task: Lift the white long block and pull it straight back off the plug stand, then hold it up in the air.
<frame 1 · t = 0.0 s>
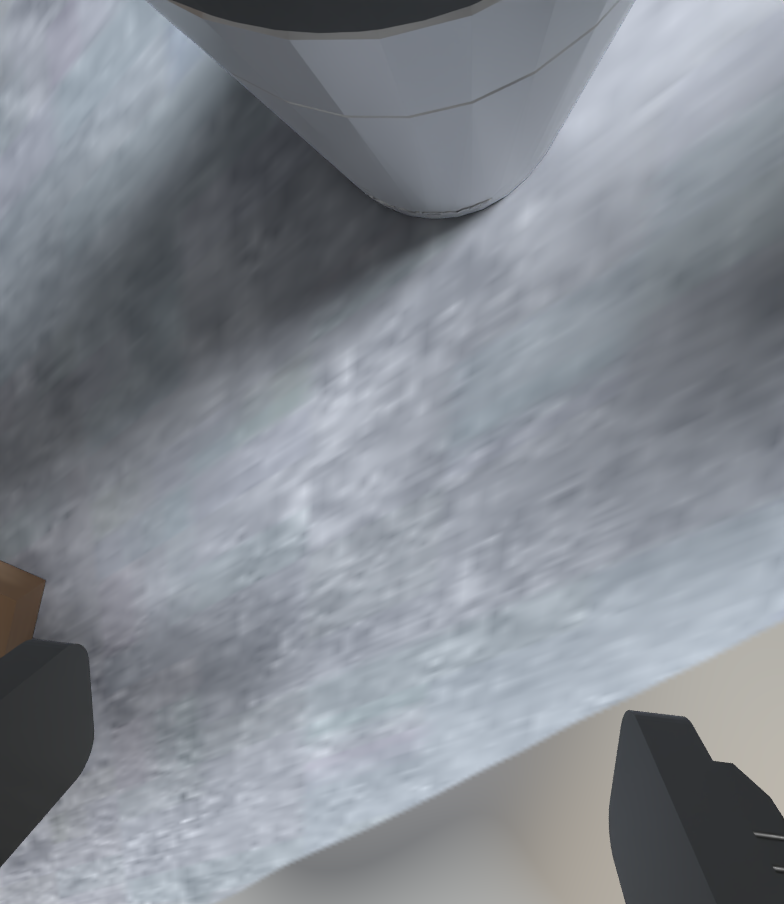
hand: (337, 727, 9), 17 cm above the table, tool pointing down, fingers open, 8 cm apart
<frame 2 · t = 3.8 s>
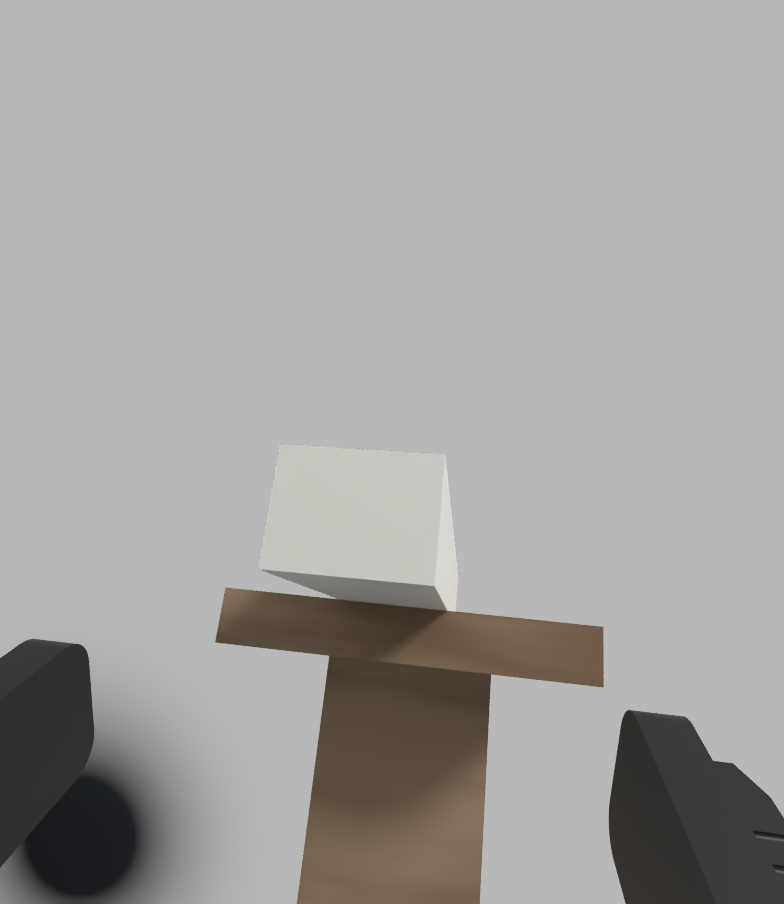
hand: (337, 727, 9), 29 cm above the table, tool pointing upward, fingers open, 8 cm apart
white long block: (401, 609, 24), point 32 cm above the table, touching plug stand
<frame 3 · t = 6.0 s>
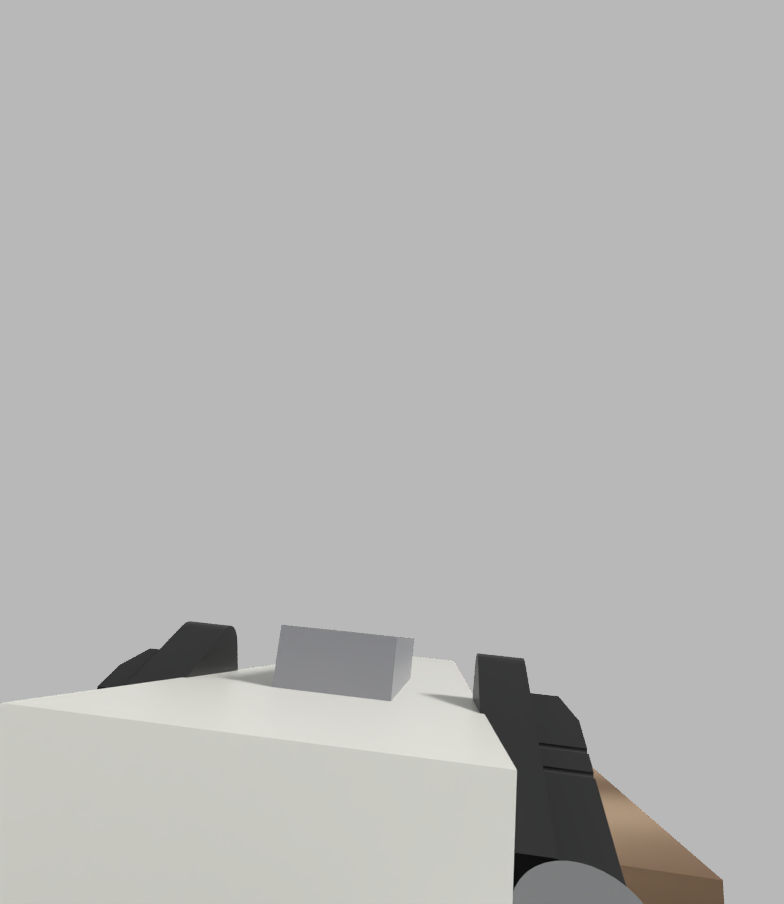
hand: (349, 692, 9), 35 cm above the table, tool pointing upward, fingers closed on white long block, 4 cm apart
white long block: (375, 791, 15), point 32 cm above the table, touching gripper, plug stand
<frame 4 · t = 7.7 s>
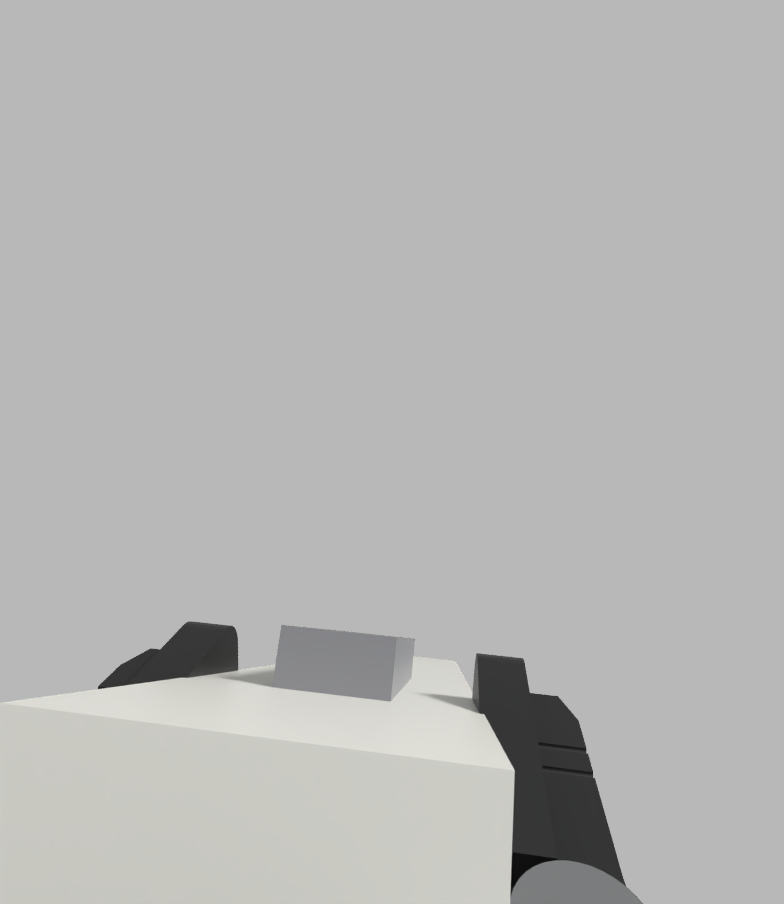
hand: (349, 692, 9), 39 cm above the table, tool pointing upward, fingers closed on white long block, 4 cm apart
white long block: (376, 791, 15), point 36 cm above the table, touching gripper
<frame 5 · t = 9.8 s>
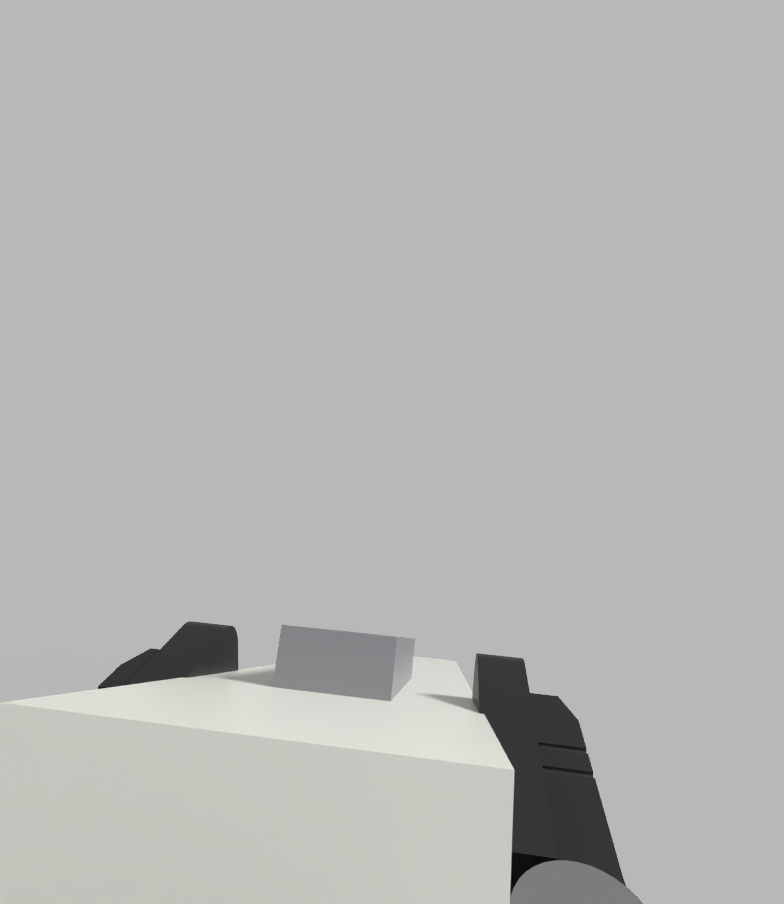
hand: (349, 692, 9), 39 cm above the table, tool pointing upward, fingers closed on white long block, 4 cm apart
white long block: (376, 791, 15), point 36 cm above the table, touching gripper
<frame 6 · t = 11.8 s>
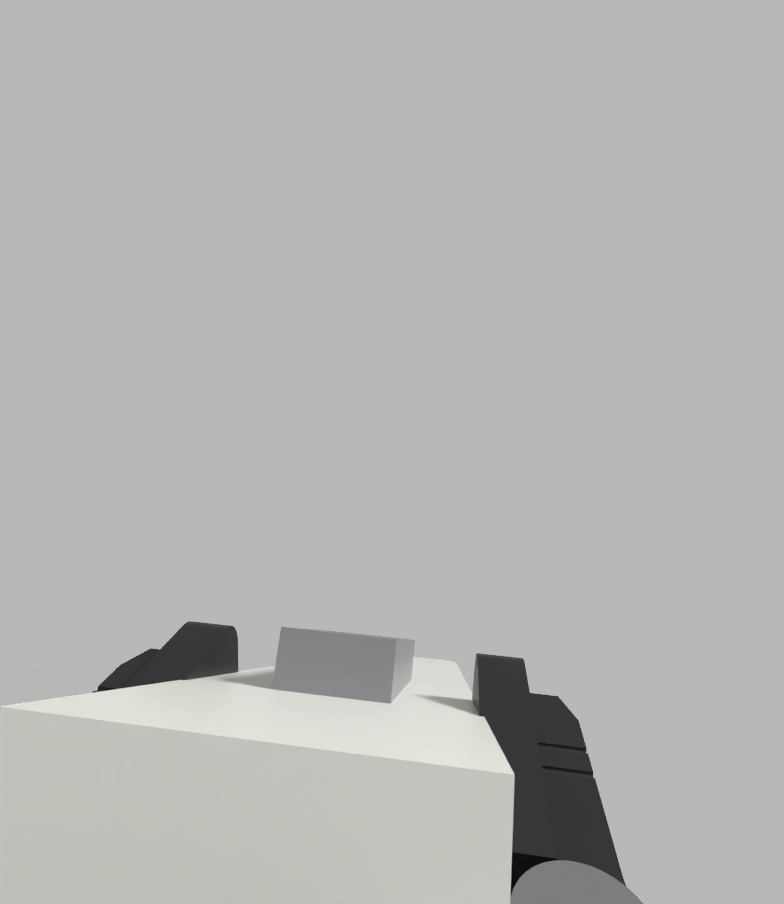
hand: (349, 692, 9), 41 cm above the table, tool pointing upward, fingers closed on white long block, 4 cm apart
white long block: (376, 792, 15), point 38 cm above the table, touching gripper
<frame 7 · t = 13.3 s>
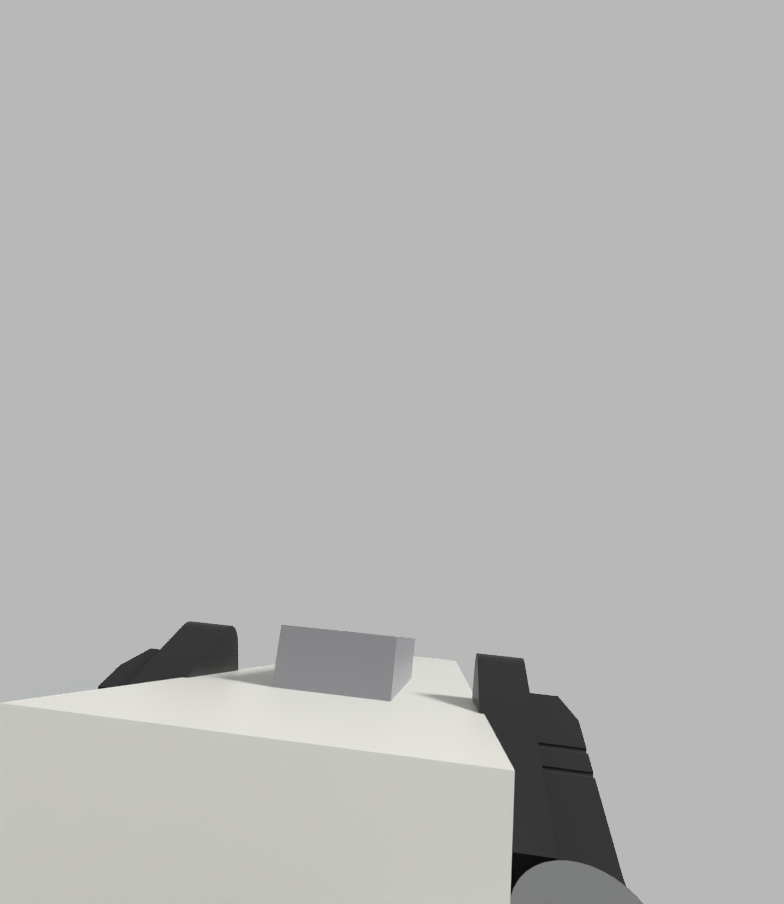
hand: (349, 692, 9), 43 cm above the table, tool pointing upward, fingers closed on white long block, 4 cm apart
white long block: (376, 791, 15), point 40 cm above the table, touching gripper
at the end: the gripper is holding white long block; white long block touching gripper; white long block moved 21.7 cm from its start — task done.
